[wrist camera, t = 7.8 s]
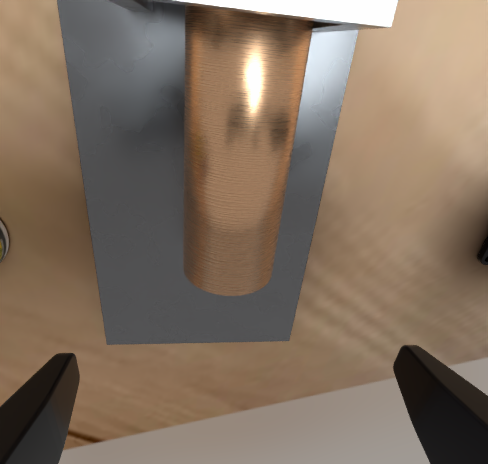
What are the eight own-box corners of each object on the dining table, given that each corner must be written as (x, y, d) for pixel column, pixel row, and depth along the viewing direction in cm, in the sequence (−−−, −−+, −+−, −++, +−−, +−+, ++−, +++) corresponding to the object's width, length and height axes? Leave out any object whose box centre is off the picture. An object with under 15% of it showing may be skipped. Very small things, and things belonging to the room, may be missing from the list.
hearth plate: (397, -183, 13) (408, -196, 12) (286, 332, 26) (289, 341, 25) (27, -265, 11) (15, -286, 10) (109, 335, 24) (106, 344, 23)
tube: (169, -192, 11) (223, -312, 7) (295, -144, 13) (392, -218, 9) (173, 250, 19) (199, 306, 15) (249, 239, 21) (290, 287, 17)
